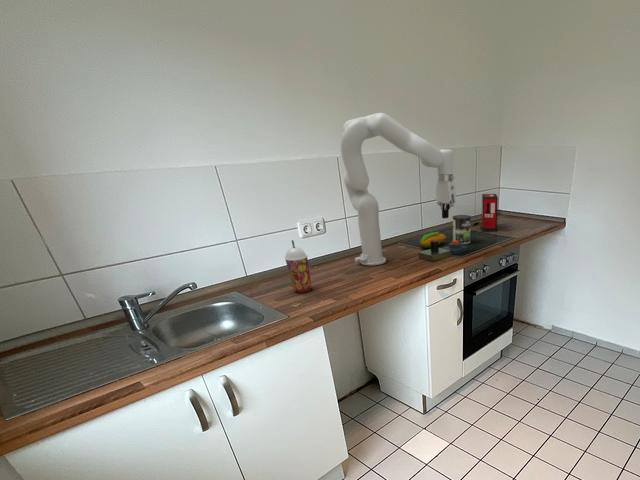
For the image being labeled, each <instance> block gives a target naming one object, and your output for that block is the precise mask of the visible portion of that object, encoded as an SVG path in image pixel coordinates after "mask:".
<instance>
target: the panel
mask: <svg viewBox="0 0 640 480" xmlns="http://www.w3.org/2000/svg"><path fill="white" fill-rule="evenodd" d="M451 256H452V254H451V250H447V249H443V247H439V251H438V252H431V248H428V249H425V250H421V251H419V252H418V259H421V260H425V261H428V262H432V263H433V262H437V261H440V260H443V259H446V258H449V257H450V258H451Z"/></svg>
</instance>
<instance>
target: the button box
mask: <svg viewBox="0 0 640 480" xmlns="http://www.w3.org/2000/svg"><path fill="white" fill-rule="evenodd" d="M442 248H443V249H447V250H451V255H454V256H455V255H458V254H462V253H465V252H469V246H468V245H465V244H461V243H459V244H458V245H453V244H452V242H449V243H448V245H447V246H444V247H442Z"/></svg>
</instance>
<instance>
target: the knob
mask: <svg viewBox="0 0 640 480" xmlns="http://www.w3.org/2000/svg"><path fill="white" fill-rule="evenodd" d="M430 242H431V248H430V249H431V252H438V251H439V248H440V245H439V242H438V241H437V240H431V241H430Z"/></svg>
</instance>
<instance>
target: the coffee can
mask: <svg viewBox="0 0 640 480" xmlns="http://www.w3.org/2000/svg"><path fill="white" fill-rule="evenodd" d="M471 222H472V216H471V215H468V214H458V215H453V216H452V241H453V240H458V241H459V243H461V244H462V245H468V244H470V243H471V241H472V240H471V235H472V233H471V228H472V227H471V226H472V225H471V224H472V223H471Z"/></svg>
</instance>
